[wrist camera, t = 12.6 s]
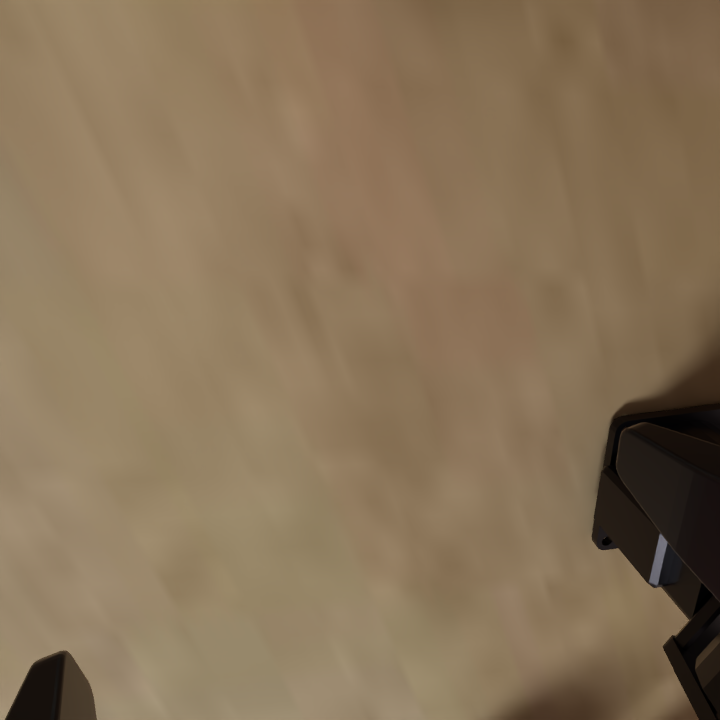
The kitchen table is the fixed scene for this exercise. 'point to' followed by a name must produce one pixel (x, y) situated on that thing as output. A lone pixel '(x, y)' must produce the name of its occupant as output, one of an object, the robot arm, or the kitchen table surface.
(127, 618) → the kitchen table surface
